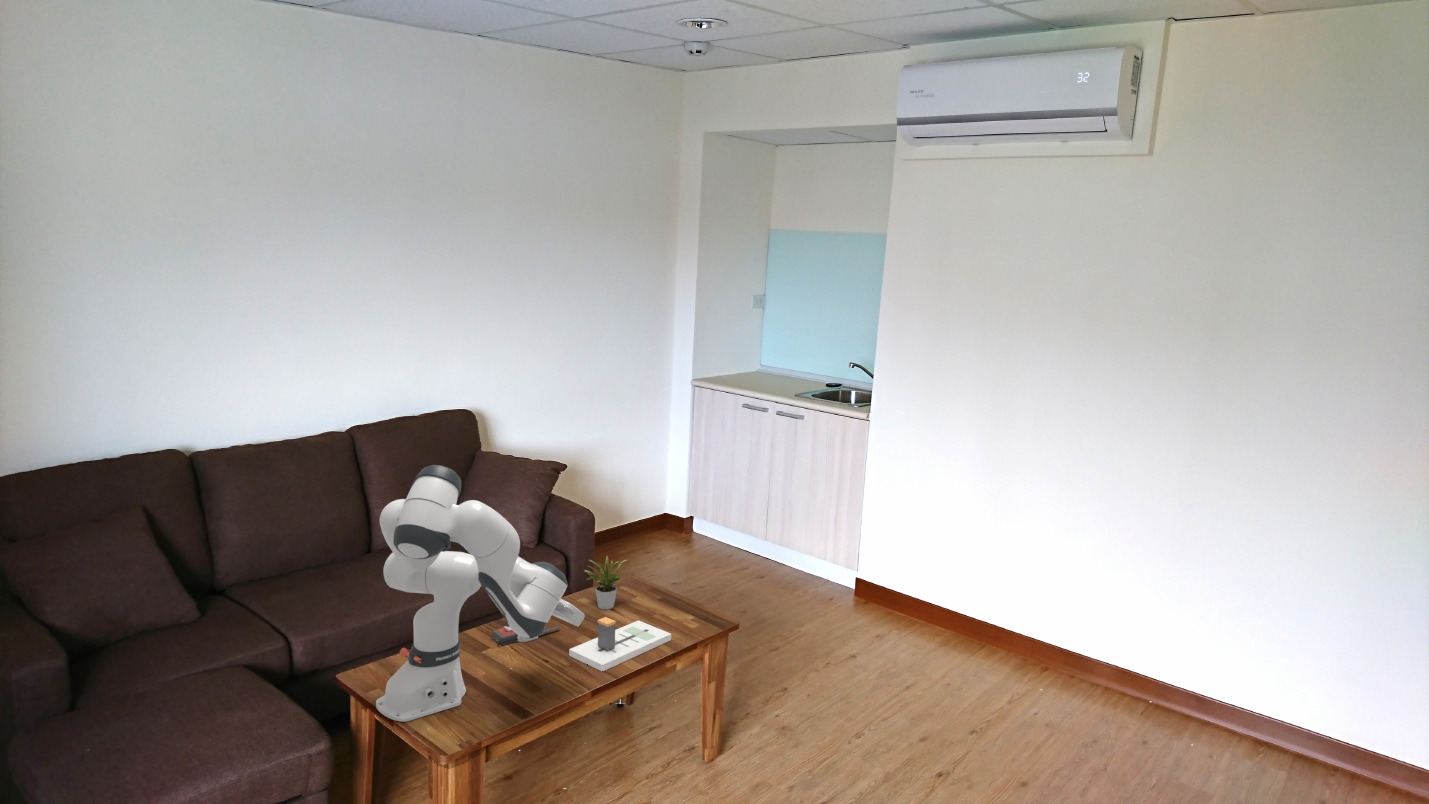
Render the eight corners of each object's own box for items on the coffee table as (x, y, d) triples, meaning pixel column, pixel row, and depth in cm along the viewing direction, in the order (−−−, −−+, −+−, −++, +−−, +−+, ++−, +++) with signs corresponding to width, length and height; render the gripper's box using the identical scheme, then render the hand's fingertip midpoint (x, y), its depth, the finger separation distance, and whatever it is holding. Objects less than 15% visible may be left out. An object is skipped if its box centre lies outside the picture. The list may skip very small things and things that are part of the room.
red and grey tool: (501, 650, 264) (561, 633, 277) (501, 636, 264) (561, 619, 276) (487, 640, 271) (546, 623, 284) (487, 626, 270) (546, 610, 283)
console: (602, 671, 253) (602, 664, 252) (569, 655, 262) (569, 648, 261) (671, 640, 274) (671, 633, 273) (638, 626, 283) (638, 620, 282)
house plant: (614, 593, 308) (615, 547, 305) (638, 606, 298) (639, 559, 295) (578, 603, 299) (578, 555, 296) (601, 617, 289) (601, 568, 286)
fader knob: (607, 650, 260) (607, 624, 259) (597, 646, 263) (597, 620, 261) (615, 647, 263) (615, 621, 261) (605, 642, 265) (605, 616, 264)
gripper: (572, 595, 235) (600, 620, 244) (523, 575, 248) (551, 599, 257) (558, 617, 233) (587, 640, 242) (509, 595, 246) (538, 618, 255)
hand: (568, 619), depth 250 cm, fingers open, 7 cm apart
